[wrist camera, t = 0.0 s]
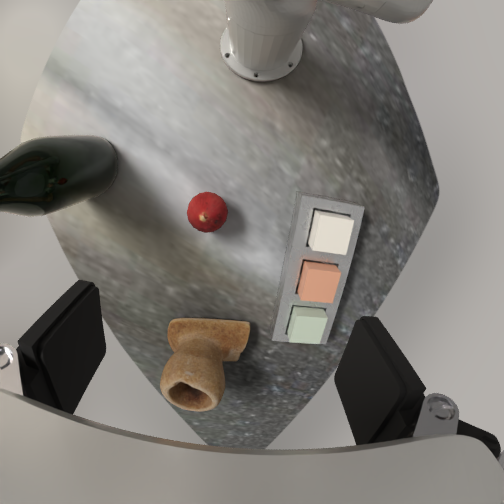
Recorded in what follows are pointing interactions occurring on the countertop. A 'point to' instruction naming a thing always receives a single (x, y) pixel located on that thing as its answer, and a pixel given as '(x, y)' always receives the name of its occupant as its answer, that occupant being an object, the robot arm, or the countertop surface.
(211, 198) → the onion
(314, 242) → the cream key
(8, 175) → the green wine bottle
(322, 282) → the terracotta key
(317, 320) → the sage key
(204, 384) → the brown hollow boot-shaped piece
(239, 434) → the countertop surface
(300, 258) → the keypad housing
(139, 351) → the countertop surface
